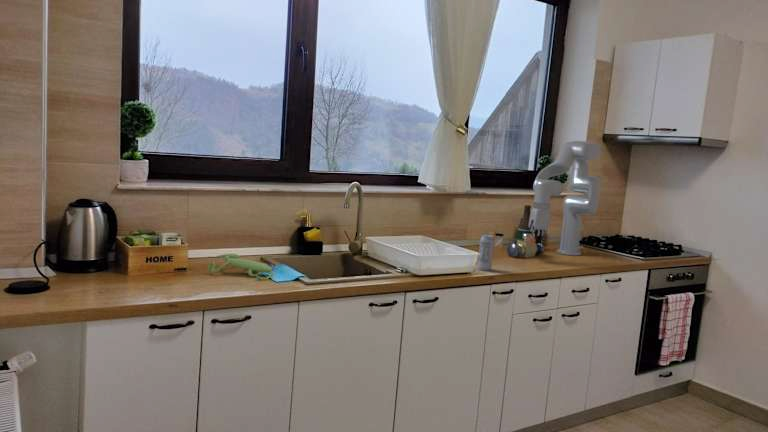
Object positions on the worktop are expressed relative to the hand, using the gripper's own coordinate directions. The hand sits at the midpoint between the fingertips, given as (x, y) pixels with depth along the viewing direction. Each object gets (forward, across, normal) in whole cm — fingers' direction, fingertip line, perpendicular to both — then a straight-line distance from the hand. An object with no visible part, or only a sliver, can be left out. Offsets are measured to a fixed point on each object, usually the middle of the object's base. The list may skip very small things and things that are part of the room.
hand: (537, 243), depth 291 cm
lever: (0, +1, -5) cm, 5 cm away
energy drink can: (+8, +41, +9) cm, 43 cm away
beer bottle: (+10, -17, -26) cm, 33 cm away
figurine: (+7, +145, -11) cm, 145 cm away
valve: (+9, -3, -10) cm, 14 cm away
